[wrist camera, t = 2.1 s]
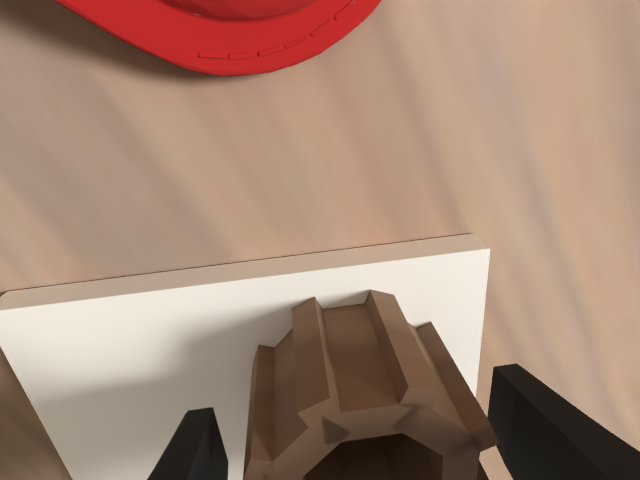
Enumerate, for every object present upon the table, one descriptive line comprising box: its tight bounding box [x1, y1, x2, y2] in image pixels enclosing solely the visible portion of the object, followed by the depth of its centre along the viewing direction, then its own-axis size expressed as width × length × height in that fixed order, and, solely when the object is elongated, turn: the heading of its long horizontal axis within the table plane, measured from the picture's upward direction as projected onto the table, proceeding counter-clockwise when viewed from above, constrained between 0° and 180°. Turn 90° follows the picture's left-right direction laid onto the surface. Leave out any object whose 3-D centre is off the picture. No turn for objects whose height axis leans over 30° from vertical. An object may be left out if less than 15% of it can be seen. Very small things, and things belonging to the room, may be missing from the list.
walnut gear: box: [243, 289, 500, 480], centre depth 10 cm, size 5×5×4 cm
